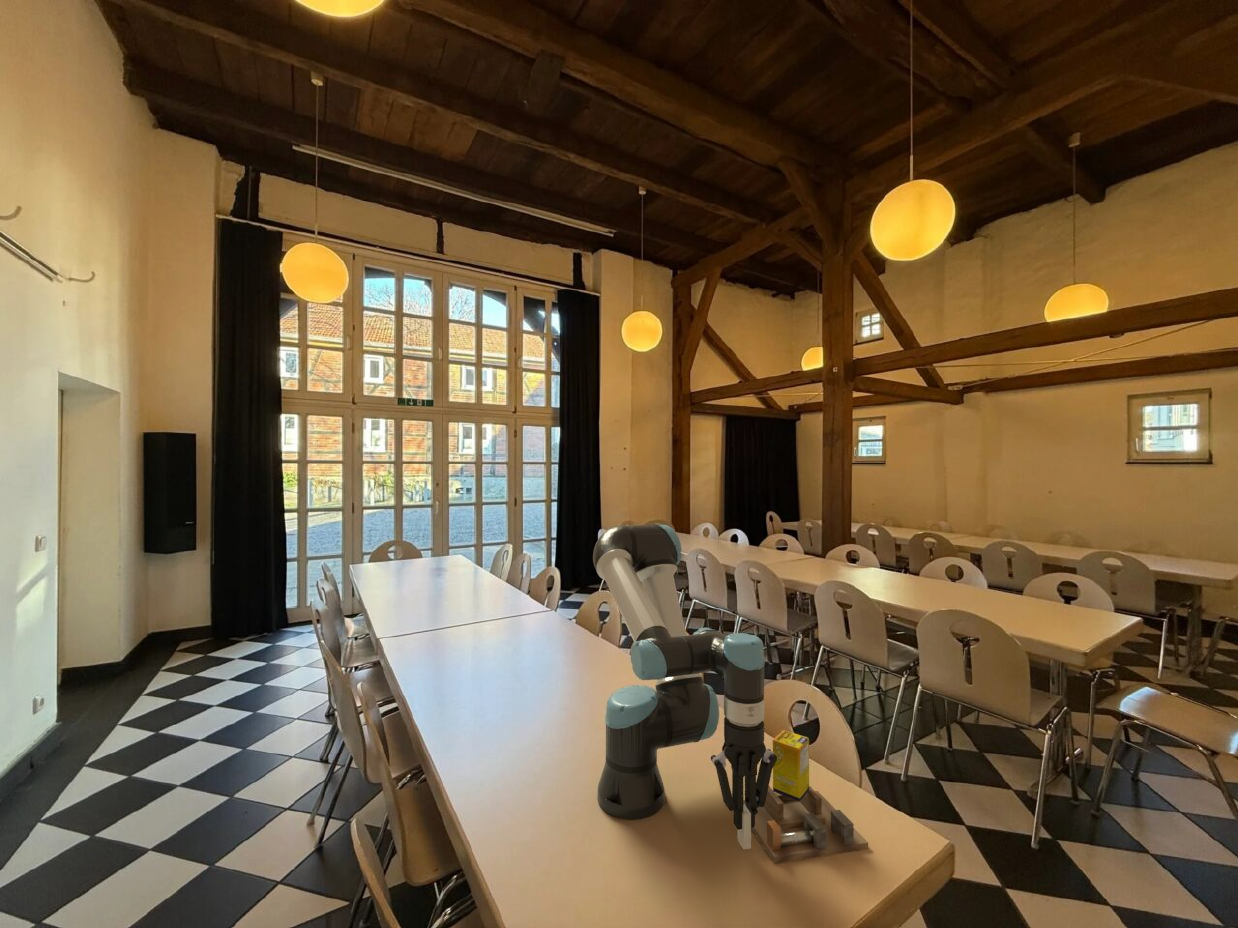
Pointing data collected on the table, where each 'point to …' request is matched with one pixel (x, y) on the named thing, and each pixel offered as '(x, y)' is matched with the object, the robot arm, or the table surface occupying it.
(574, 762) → the table surface
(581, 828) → the table surface
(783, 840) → the lock pin
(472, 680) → the table surface
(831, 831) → the dock
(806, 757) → the supplement box
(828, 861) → the table surface
